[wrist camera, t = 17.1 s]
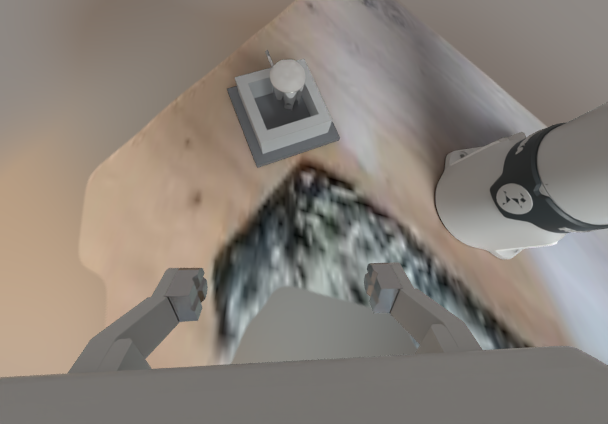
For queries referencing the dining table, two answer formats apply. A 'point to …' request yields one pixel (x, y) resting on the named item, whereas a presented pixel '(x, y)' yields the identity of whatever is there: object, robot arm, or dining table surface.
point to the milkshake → (286, 87)
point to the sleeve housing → (266, 125)
